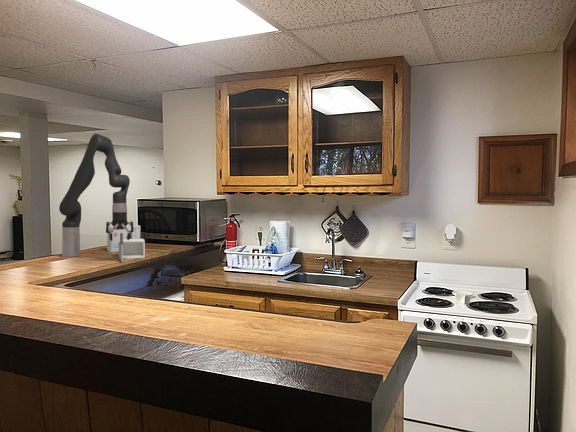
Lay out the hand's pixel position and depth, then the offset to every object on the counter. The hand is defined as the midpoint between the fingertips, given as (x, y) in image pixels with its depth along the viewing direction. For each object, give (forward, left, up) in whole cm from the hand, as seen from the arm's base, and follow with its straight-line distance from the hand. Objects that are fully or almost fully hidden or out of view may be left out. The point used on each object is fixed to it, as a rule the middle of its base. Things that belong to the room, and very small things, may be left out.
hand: (119, 240), depth 244 cm
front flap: (0, +5, -12) cm, 13 cm away
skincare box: (+4, +44, -12) cm, 46 cm away
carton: (+7, +17, -12) cm, 22 cm away
